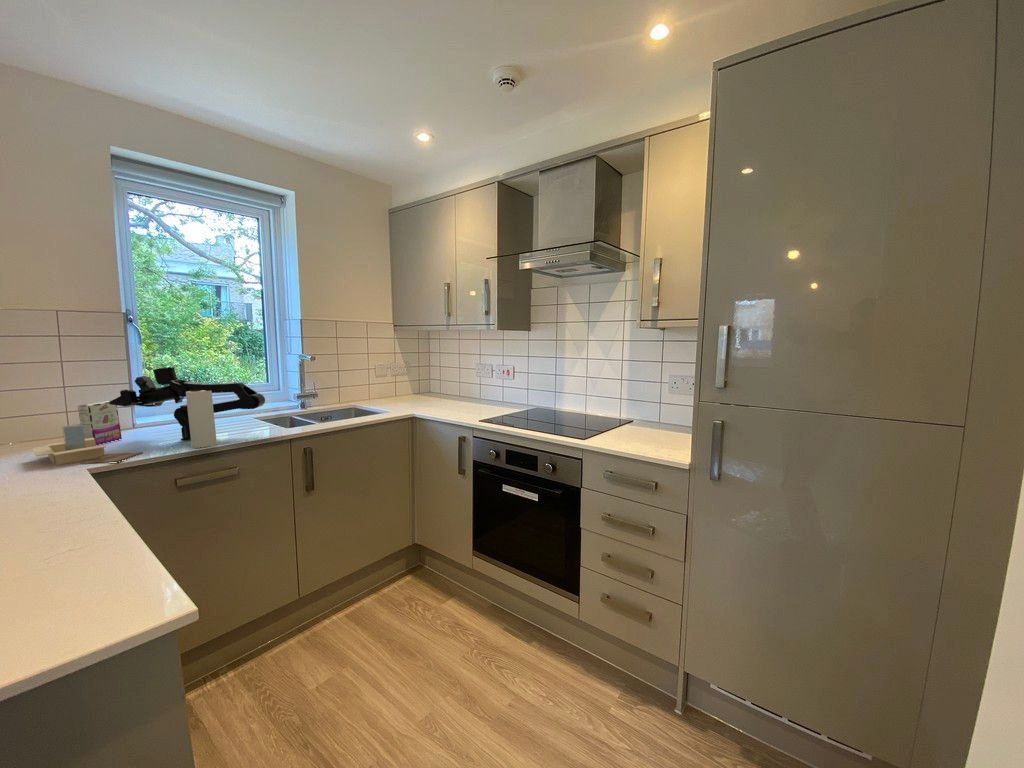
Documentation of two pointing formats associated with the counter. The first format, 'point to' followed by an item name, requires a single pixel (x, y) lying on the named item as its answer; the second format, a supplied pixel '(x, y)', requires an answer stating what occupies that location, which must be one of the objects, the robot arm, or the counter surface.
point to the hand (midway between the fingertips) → (118, 403)
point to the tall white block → (201, 418)
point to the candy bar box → (100, 422)
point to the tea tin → (73, 437)
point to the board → (111, 458)
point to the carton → (70, 452)
